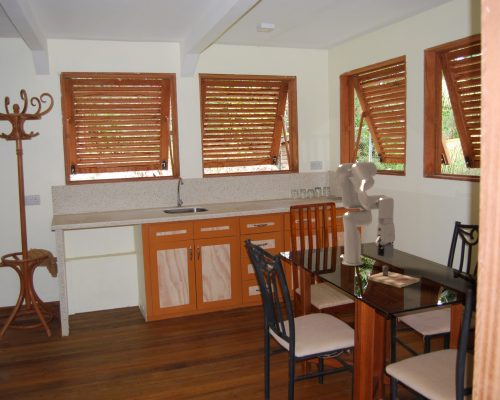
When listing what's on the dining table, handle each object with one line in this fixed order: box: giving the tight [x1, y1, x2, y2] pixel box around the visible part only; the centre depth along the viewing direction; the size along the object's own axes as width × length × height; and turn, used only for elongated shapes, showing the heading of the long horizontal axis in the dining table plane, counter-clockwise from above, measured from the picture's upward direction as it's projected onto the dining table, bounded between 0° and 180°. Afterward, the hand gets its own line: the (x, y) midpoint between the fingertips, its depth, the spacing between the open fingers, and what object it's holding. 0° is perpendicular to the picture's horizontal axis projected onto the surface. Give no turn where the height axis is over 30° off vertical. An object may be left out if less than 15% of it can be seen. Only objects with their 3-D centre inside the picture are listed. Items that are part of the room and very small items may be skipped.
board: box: [367, 265, 420, 289], centre depth 252 cm, size 20×16×6 cm
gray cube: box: [376, 243, 395, 259], centre depth 255 cm, size 6×6×6 cm
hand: (385, 254), depth 255 cm, fingers closed on gray cube, 6 cm apart
